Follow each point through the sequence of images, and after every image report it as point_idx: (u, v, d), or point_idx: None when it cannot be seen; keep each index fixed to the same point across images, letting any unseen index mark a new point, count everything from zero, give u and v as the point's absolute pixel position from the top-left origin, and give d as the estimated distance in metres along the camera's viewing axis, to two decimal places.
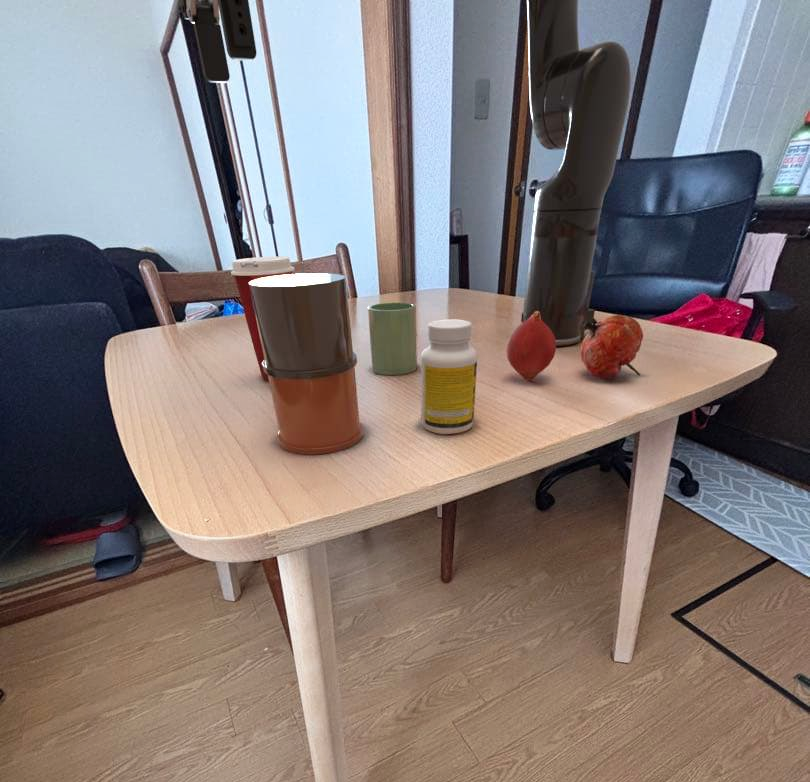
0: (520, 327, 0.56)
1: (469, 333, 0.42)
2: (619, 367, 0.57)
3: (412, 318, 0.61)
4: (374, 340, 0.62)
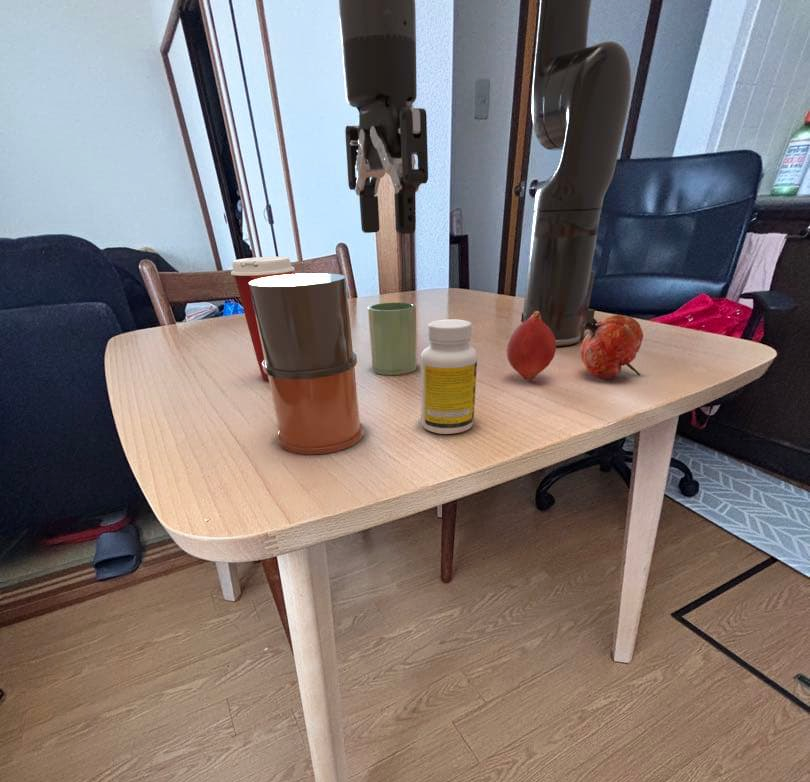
0: (520, 327, 0.56)
1: (469, 333, 0.42)
2: (619, 367, 0.57)
3: (412, 318, 0.61)
4: (374, 340, 0.62)
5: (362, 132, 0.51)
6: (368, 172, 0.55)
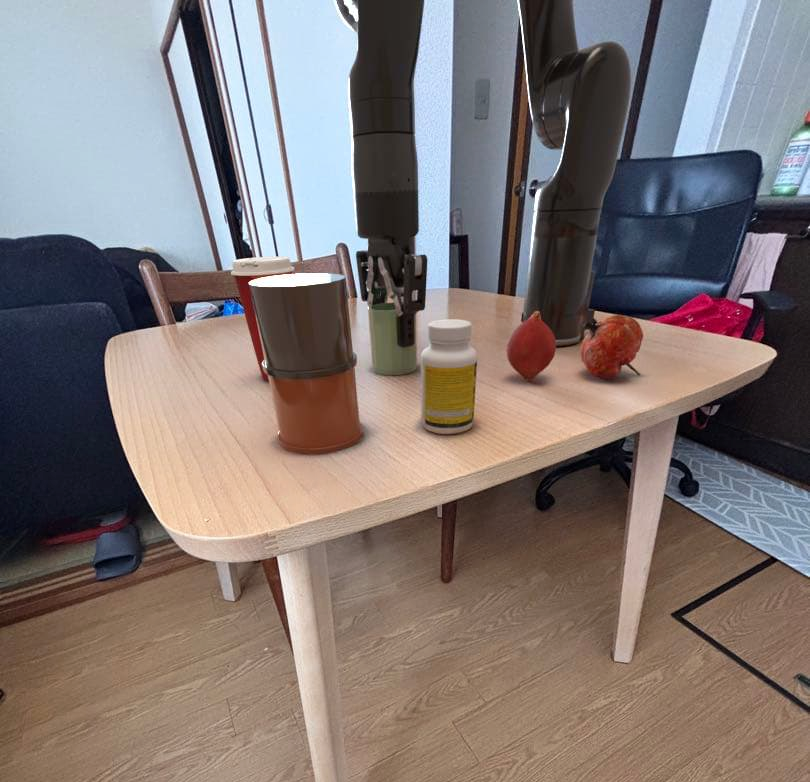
0: (520, 327, 0.56)
1: (469, 333, 0.42)
2: (619, 367, 0.57)
3: None
4: (374, 340, 0.62)
5: (371, 258, 0.58)
6: (378, 288, 0.61)
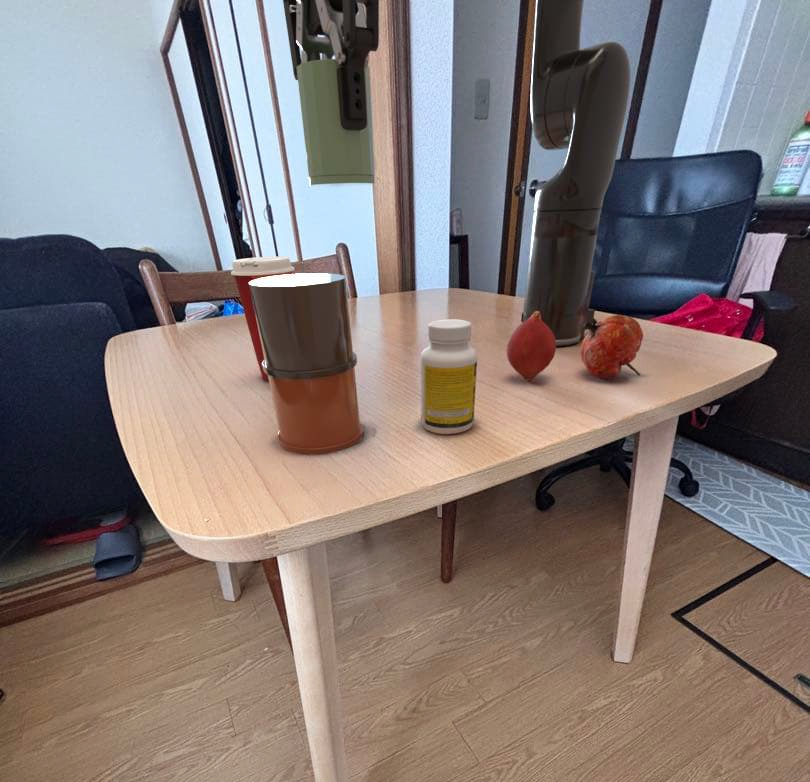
0: (520, 327, 0.56)
1: (469, 333, 0.42)
2: (619, 367, 0.57)
3: None
4: (307, 123, 0.41)
5: None
6: (314, 43, 0.41)
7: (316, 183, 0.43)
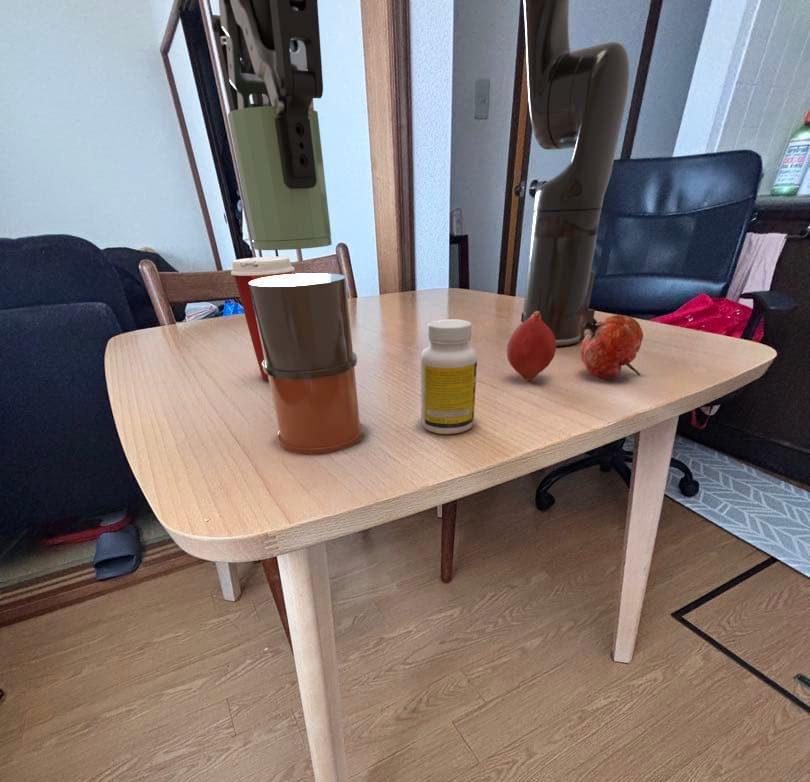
0: (520, 327, 0.56)
1: (469, 333, 0.42)
2: (619, 367, 0.57)
3: None
4: (244, 180, 0.34)
5: (222, 1, 0.30)
6: (251, 83, 0.33)
7: (260, 248, 0.36)
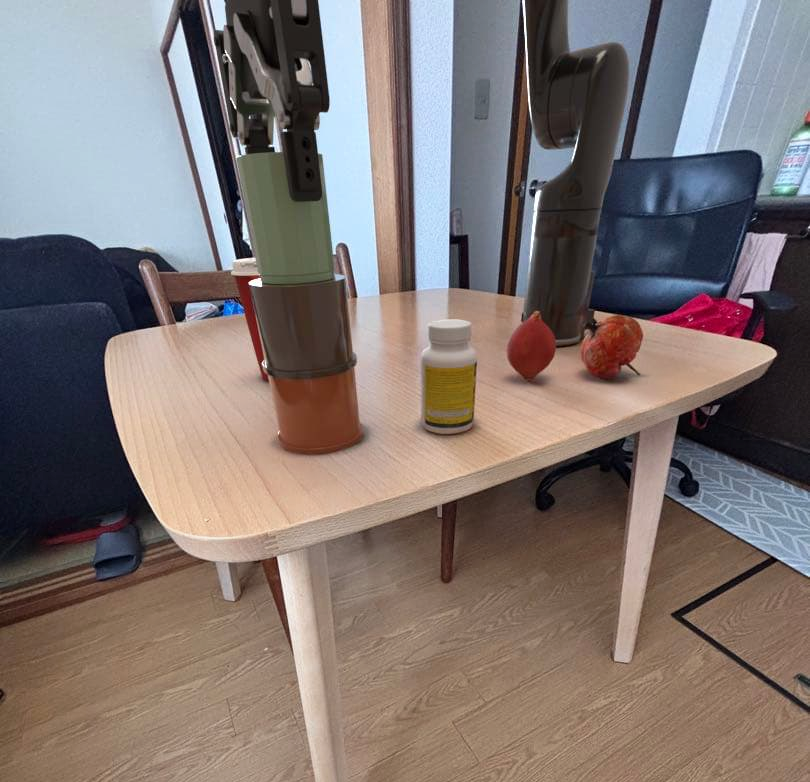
0: (520, 327, 0.56)
1: (469, 333, 0.42)
2: (619, 367, 0.57)
3: None
4: (251, 219, 0.35)
5: (226, 31, 0.31)
6: (251, 104, 0.34)
7: (266, 282, 0.37)
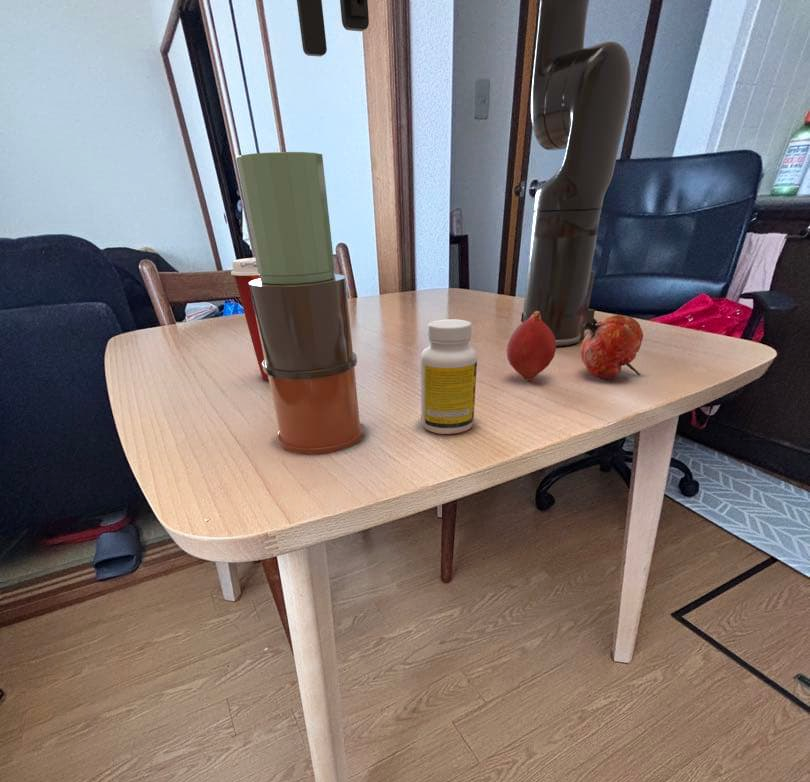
0: (520, 327, 0.56)
1: (469, 333, 0.42)
2: (619, 367, 0.57)
3: (315, 175, 0.34)
4: (251, 219, 0.35)
5: None
6: None
7: (266, 282, 0.37)
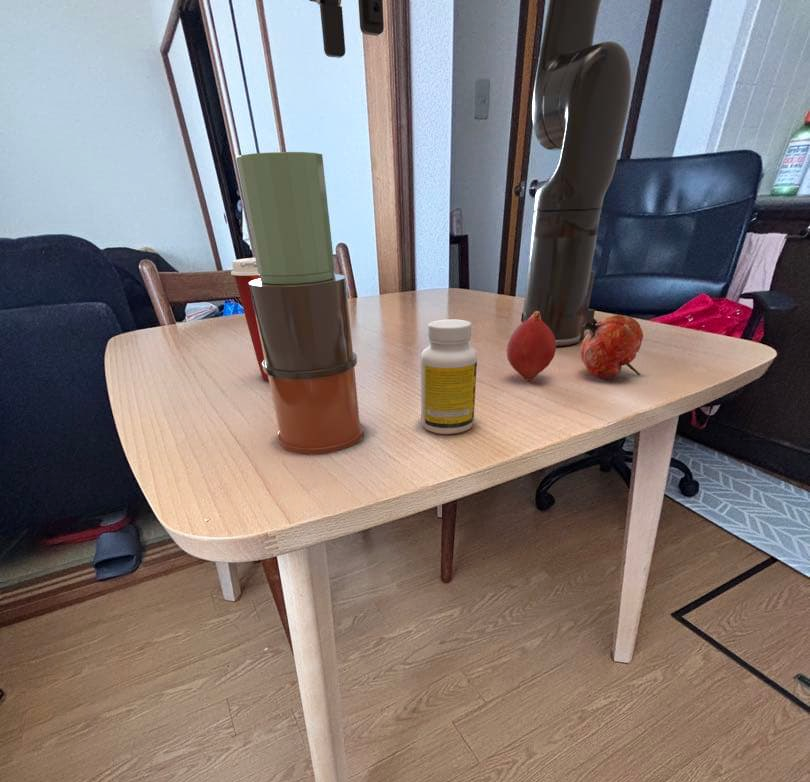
0: (520, 327, 0.56)
1: (469, 333, 0.42)
2: (619, 367, 0.57)
3: (315, 175, 0.34)
4: (251, 219, 0.35)
5: None
6: None
7: (266, 282, 0.37)
